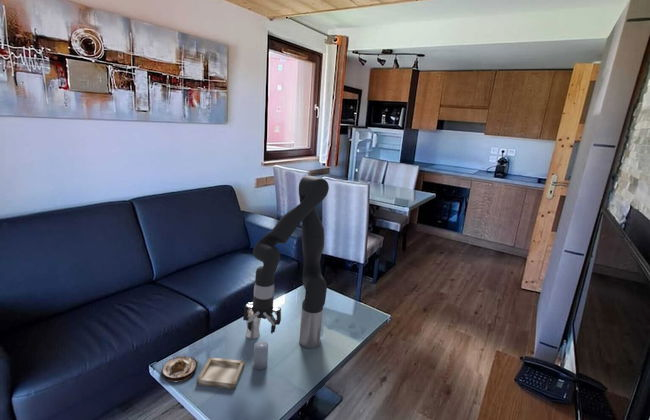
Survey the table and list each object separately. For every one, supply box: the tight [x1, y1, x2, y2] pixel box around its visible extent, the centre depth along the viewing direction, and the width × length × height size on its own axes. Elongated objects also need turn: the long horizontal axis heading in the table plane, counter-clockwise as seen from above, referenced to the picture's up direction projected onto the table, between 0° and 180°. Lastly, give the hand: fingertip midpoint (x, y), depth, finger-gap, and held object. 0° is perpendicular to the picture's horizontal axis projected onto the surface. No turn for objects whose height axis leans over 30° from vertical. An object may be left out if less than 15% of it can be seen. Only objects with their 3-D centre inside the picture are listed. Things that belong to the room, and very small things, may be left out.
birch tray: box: [196, 356, 245, 390], centre depth 126 cm, size 14×12×2 cm
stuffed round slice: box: [161, 355, 198, 382], centre depth 127 cm, size 15×15×4 cm
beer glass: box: [245, 301, 262, 340], centre depth 150 cm, size 7×7×15 cm
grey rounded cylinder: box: [253, 340, 269, 371], centre depth 133 cm, size 6×6×9 cm
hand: (261, 330), depth 130 cm, fingers open, 8 cm apart
